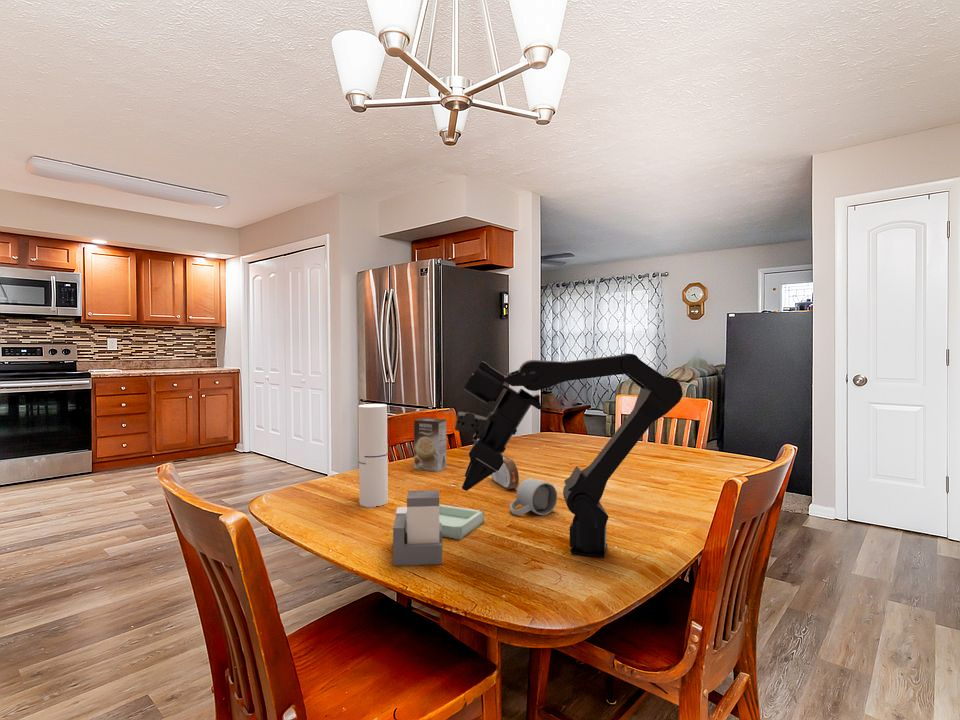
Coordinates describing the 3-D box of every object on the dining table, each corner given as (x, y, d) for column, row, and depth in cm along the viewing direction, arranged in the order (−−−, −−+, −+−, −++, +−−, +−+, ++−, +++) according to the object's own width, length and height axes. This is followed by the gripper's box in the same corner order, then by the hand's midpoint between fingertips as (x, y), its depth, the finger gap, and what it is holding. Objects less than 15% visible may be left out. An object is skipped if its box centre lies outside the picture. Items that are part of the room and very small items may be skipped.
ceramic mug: (538, 503, 135) (537, 473, 135) (558, 512, 128) (557, 480, 128) (502, 511, 130) (502, 479, 130) (521, 520, 123) (521, 487, 123)
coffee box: (412, 469, 171) (412, 419, 171) (422, 465, 177) (422, 417, 176) (438, 472, 168) (438, 421, 167) (447, 467, 174) (447, 418, 173)
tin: (519, 492, 146) (519, 461, 145) (509, 493, 145) (509, 462, 144) (497, 478, 160) (497, 451, 159) (488, 479, 159) (488, 451, 158)
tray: (484, 521, 122) (484, 511, 122) (459, 539, 111) (459, 527, 111) (434, 514, 127) (434, 503, 127) (406, 530, 116) (406, 519, 116)
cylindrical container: (381, 508, 132) (380, 407, 131) (354, 506, 133) (353, 406, 132) (392, 499, 139) (391, 404, 138) (366, 498, 140) (365, 403, 139)
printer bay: (441, 539, 111) (441, 504, 111) (442, 564, 99) (442, 524, 98) (398, 540, 110) (397, 505, 110) (393, 565, 98) (392, 526, 98)
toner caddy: (439, 550, 105) (439, 490, 105) (439, 560, 100) (439, 497, 100) (408, 551, 105) (408, 490, 104) (407, 561, 100) (406, 498, 99)
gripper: (474, 390, 114) (436, 452, 115) (469, 400, 95) (424, 473, 96) (518, 418, 114) (479, 479, 115) (522, 433, 95) (477, 505, 96)
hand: (465, 483), depth 105 cm, fingers open, 9 cm apart
